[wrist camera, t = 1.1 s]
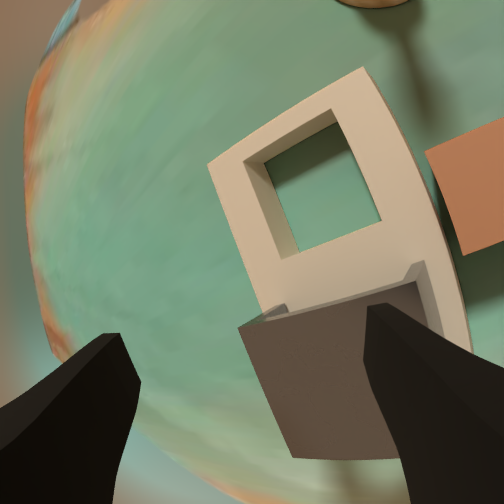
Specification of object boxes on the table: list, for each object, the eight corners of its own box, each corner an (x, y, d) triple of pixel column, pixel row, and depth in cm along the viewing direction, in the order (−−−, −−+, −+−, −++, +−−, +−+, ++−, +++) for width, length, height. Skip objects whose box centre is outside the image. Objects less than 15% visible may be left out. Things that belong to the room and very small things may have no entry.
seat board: (374, 79, 15) (362, 66, 14) (478, 388, 15) (478, 410, 13) (229, 165, 23) (206, 164, 21) (322, 411, 22) (308, 429, 20)
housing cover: (423, 259, 14) (415, 280, 11) (456, 407, 13) (449, 452, 10) (275, 305, 19) (237, 327, 16) (320, 423, 19) (292, 457, 16)
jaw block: (496, 133, 12) (511, 113, 8) (525, 212, 12) (551, 220, 8) (430, 161, 15) (424, 151, 11) (459, 238, 15) (463, 255, 11)
